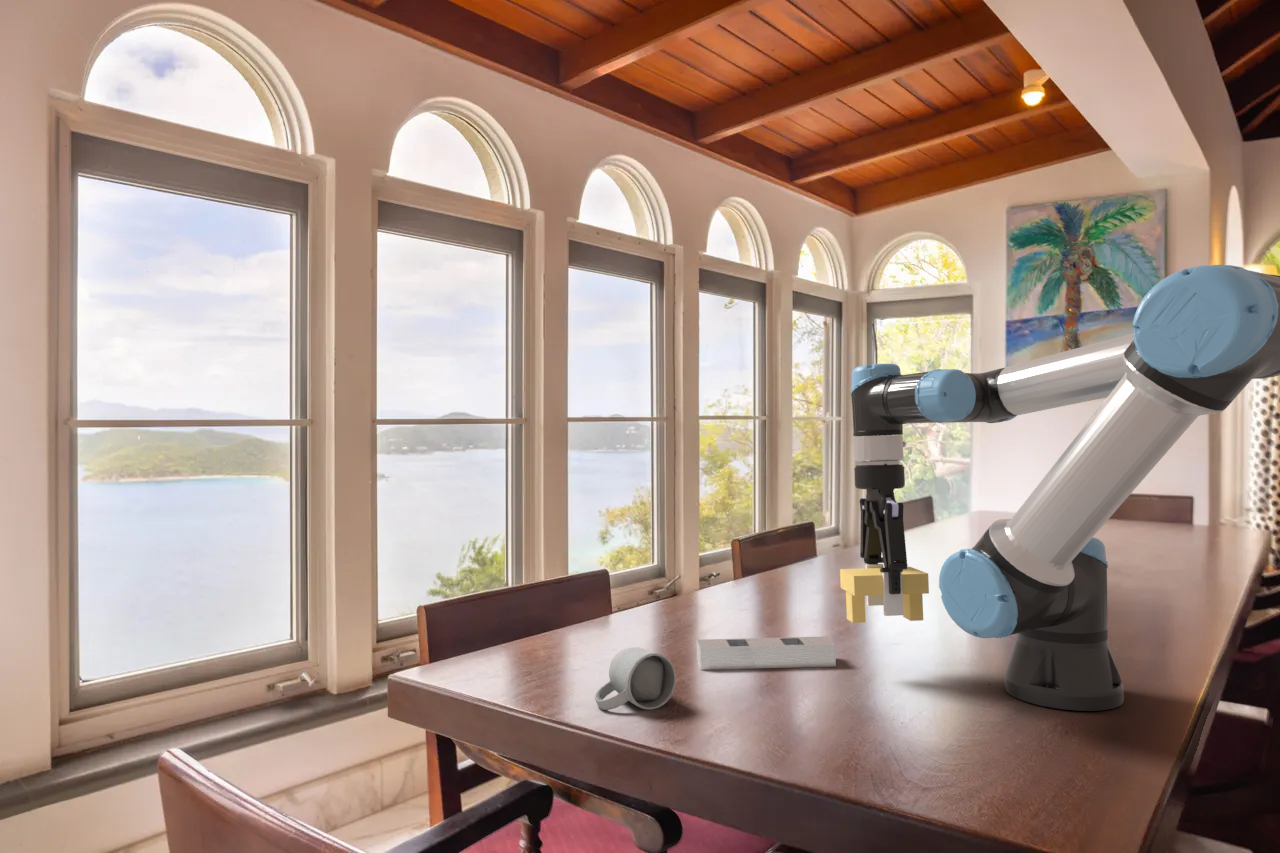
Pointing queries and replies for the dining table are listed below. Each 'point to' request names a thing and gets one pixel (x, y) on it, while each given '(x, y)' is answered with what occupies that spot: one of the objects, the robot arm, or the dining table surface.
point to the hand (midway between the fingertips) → (884, 609)
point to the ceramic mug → (638, 680)
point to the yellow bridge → (871, 583)
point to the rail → (765, 653)
